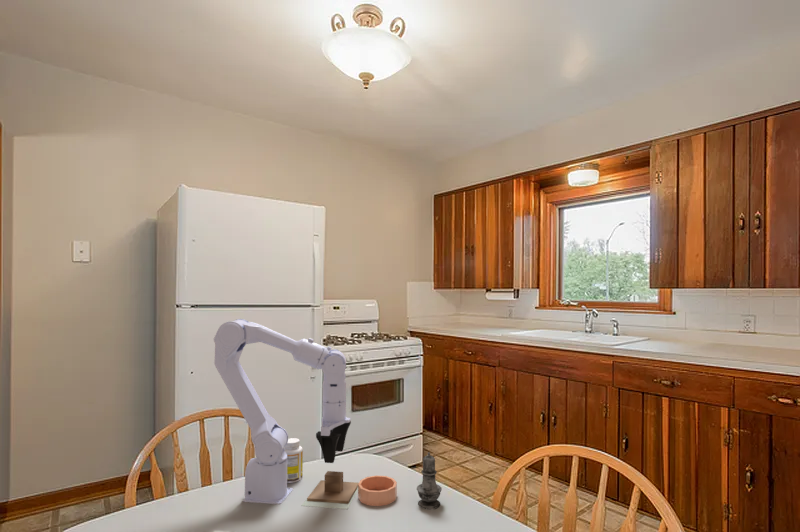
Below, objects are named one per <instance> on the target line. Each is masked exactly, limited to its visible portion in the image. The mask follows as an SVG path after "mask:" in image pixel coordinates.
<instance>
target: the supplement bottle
mask: <svg viewBox="0 0 800 532" xmlns="http://www.w3.org/2000/svg"><path fill="white" fill-rule="evenodd" d="M284 450H285V452H286V454H287V484H288V483H289V484H291V483H293V484H294V483H296V482H299V481H301V480H302V479H303V463H304V462H303V457H304V456H303V452H304V451H303V447H302V446H301V443H300V439H299V438H296V437H291V438H288V442H287V445H286V446H285V447H284Z"/></svg>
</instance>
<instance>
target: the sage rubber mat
mask: <svg viewBox="0 0 800 532" xmlns="http://www.w3.org/2000/svg"><path fill="white" fill-rule="evenodd" d="M324 481H325V479H324ZM354 482H355V483H359V482H360V481H359V482H358V481H354ZM314 489H315V487H314V488H313V490H314ZM311 493H312V491H311V492H310V494H311ZM357 494H358V487H357V489H356V491H355V493H354V495H353V496H352V498H351V500H350V502H349V503H348V504H345V503H331V502H317V501H307V498H306V499H304V502H303V503H302V504H301V507H308V508H309V507H311V508H324V509H325V508H327V509H340V510H348V509H349V507H350V505H351V504H352V502H353V500H354V498H355V497H356V495H357Z"/></svg>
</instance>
